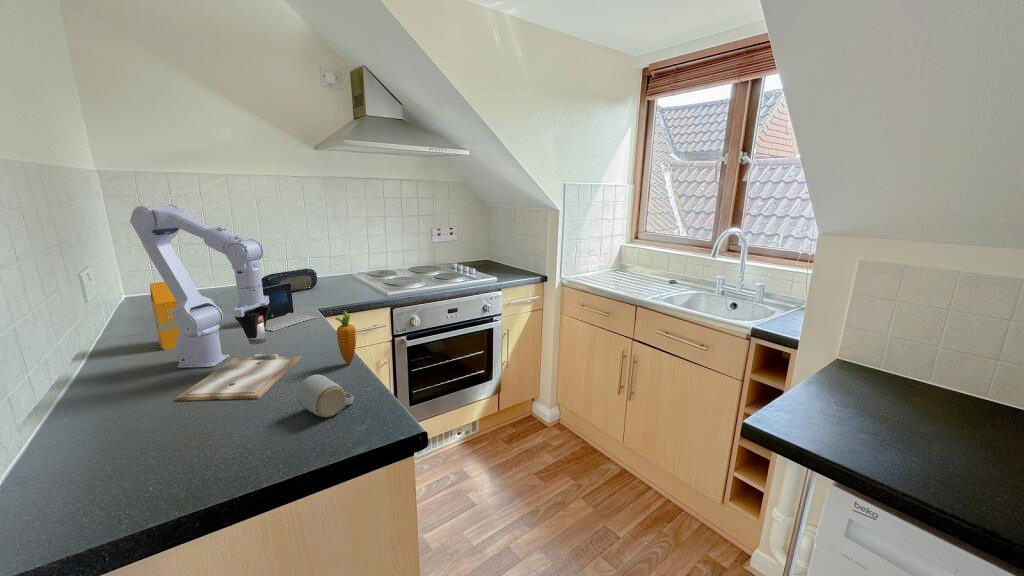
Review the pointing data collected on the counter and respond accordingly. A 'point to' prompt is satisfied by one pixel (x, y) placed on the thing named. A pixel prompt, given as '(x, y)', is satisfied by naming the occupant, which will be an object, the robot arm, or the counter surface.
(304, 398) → the ceramic mug
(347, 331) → the carrot
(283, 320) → the laptop
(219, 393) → the clipboard
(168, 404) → the counter surface
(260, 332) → the marker
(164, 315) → the orange juice
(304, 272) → the portable speaker
